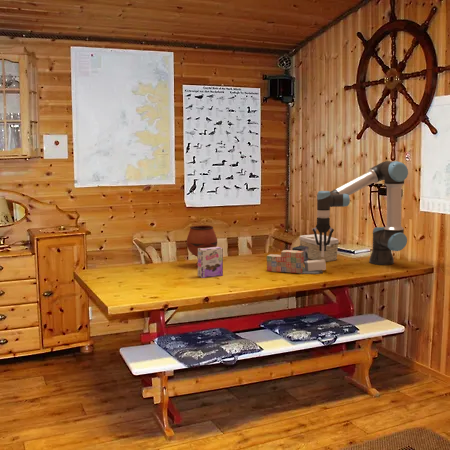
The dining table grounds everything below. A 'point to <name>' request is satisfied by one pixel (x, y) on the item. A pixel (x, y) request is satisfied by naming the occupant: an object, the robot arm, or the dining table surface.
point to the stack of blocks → (286, 261)
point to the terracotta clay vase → (201, 239)
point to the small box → (302, 248)
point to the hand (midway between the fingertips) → (322, 256)
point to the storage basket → (314, 248)
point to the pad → (312, 272)
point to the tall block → (315, 265)
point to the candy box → (210, 262)
